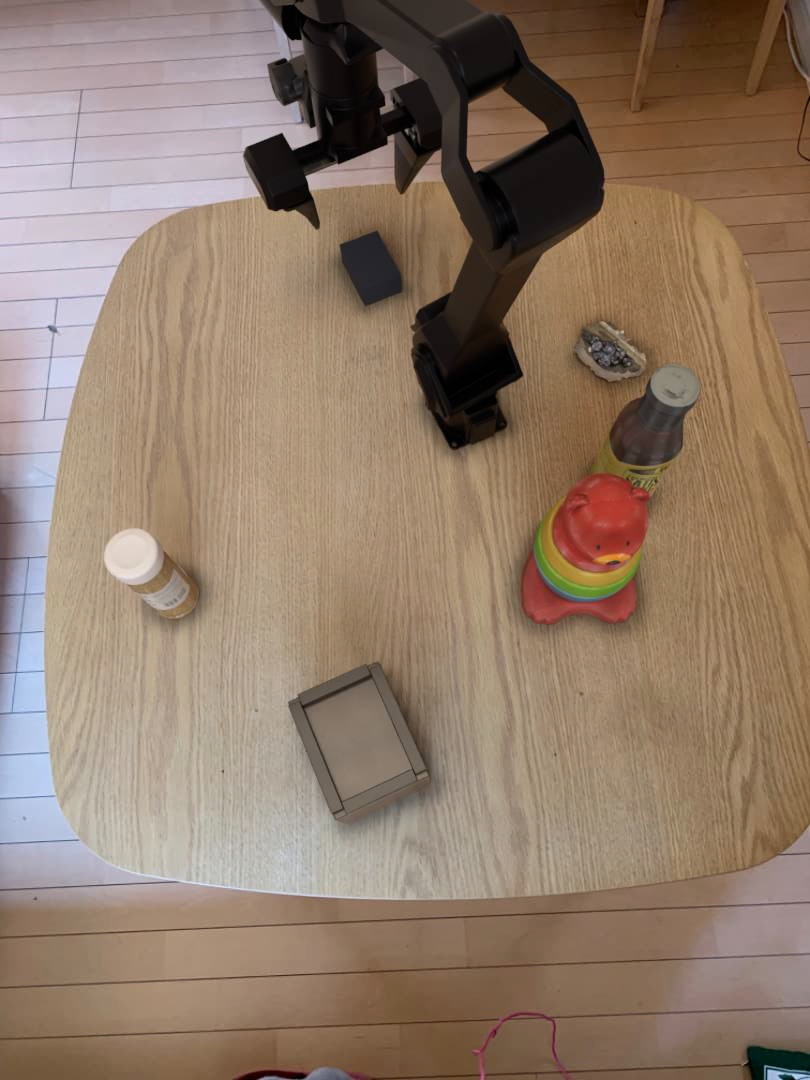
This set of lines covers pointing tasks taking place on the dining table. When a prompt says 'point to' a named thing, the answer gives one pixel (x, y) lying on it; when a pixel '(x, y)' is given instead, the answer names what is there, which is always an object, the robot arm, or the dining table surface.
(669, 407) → the sauce bottle
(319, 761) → the backing frame
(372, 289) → the dark blue rectangular block
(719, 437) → the dining table surface
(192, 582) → the sprinkles bottle
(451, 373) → the robot arm
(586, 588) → the stacking bear
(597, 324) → the mineral rock specimen
